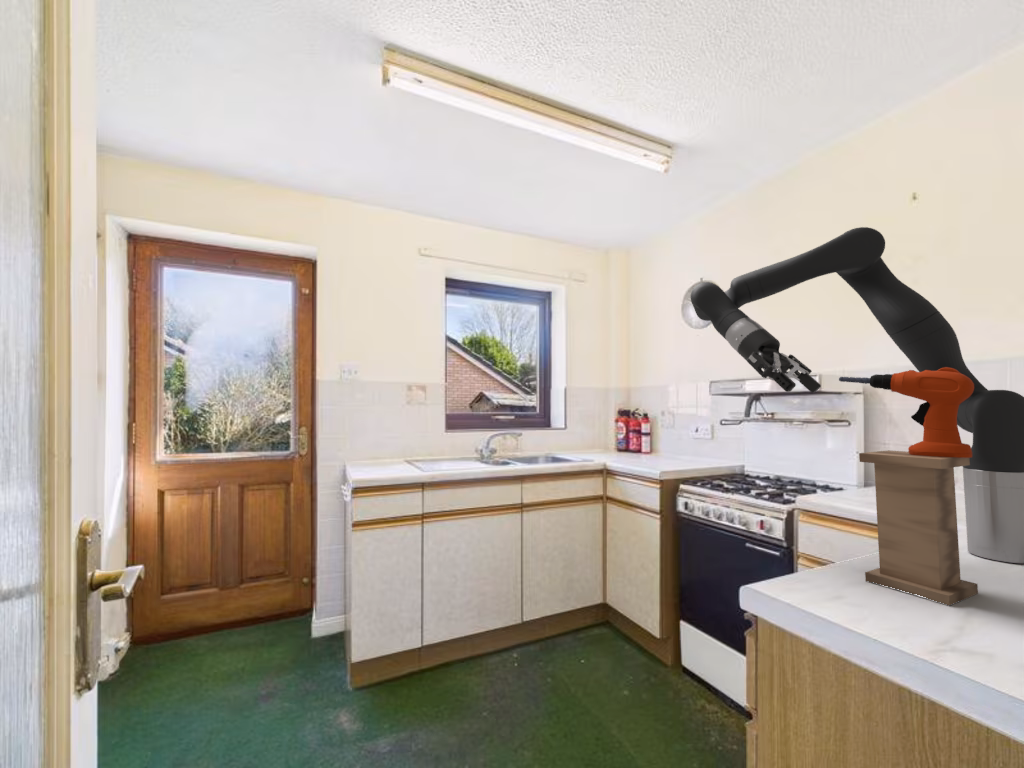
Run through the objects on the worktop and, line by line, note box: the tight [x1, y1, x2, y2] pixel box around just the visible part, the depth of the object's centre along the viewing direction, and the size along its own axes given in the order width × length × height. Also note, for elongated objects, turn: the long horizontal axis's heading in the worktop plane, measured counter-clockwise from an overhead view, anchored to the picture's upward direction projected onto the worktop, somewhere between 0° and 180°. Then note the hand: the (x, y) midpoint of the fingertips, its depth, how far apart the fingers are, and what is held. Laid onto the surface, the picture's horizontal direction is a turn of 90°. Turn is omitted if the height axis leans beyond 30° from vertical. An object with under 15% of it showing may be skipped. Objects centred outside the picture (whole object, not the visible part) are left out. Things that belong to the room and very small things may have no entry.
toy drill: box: [838, 367, 974, 458], centre depth 78 cm, size 5×19×15 cm, turn 37°
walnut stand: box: [858, 450, 979, 606], centre depth 75 cm, size 10×11×22 cm
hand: (804, 389), depth 92 cm, fingers open, 8 cm apart
